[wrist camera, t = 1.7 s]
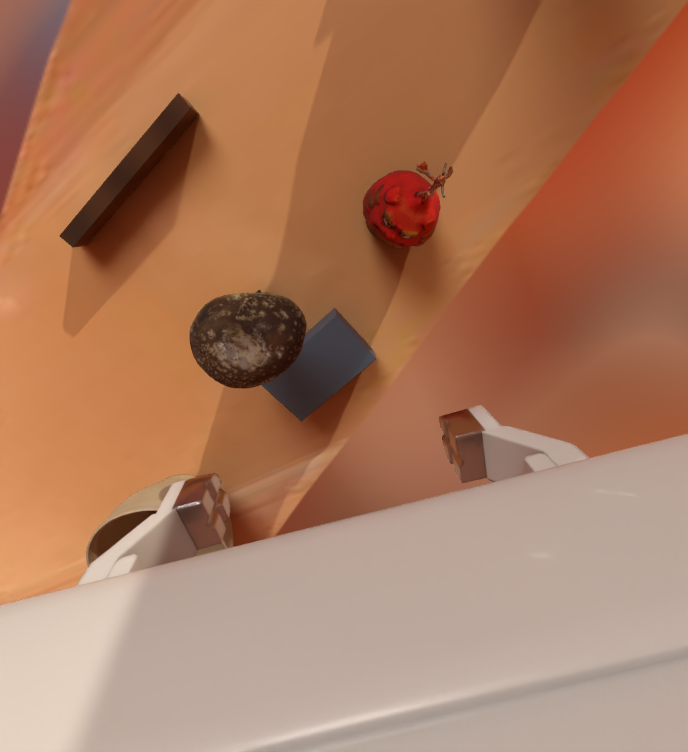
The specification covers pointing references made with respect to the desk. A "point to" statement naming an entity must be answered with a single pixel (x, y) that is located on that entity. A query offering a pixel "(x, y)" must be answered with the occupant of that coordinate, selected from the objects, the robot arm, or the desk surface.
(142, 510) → the planter bowl
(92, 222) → the ledge
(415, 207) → the red clay folk toy
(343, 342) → the block
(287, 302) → the mushroom
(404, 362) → the desk surface
